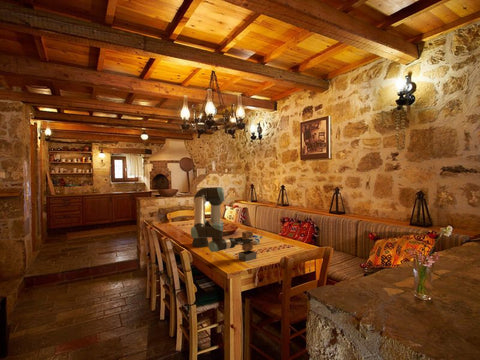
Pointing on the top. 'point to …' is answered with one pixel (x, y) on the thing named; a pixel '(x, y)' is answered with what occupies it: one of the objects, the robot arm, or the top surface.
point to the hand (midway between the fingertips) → (252, 238)
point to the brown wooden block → (245, 236)
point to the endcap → (247, 255)
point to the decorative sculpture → (256, 239)
